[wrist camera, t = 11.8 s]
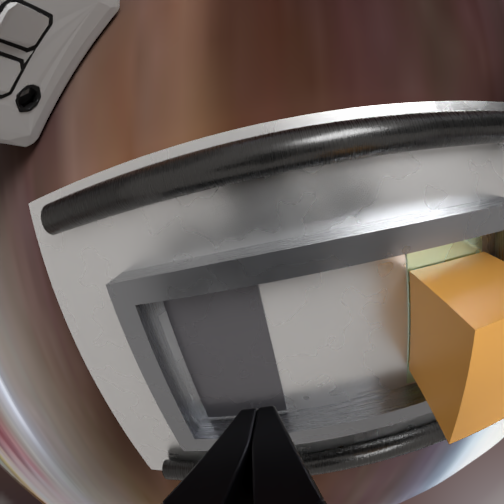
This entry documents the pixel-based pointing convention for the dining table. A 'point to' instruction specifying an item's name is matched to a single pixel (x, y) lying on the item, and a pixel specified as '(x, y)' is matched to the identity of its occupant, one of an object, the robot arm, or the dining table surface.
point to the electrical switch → (42, 58)
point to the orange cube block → (459, 341)
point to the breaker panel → (274, 275)
